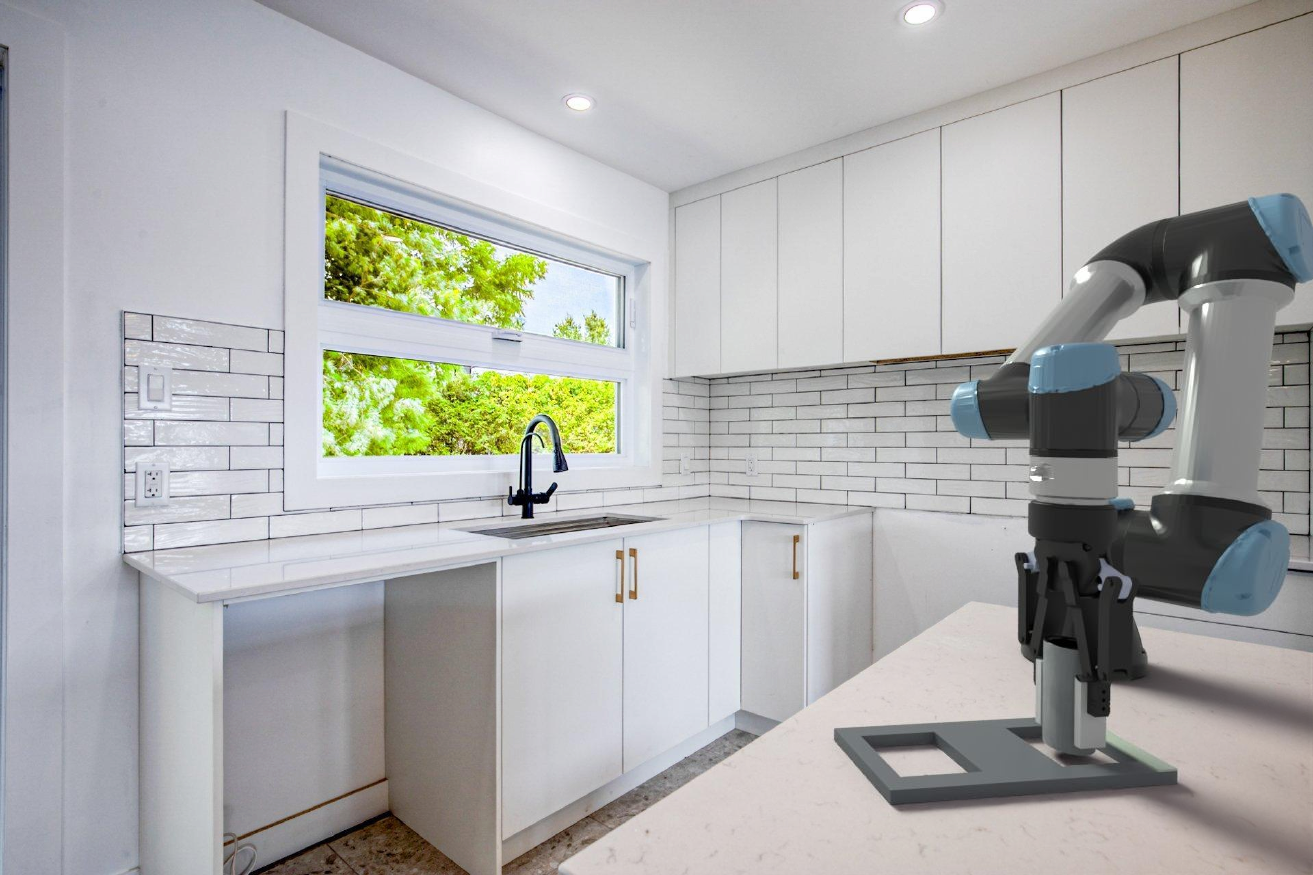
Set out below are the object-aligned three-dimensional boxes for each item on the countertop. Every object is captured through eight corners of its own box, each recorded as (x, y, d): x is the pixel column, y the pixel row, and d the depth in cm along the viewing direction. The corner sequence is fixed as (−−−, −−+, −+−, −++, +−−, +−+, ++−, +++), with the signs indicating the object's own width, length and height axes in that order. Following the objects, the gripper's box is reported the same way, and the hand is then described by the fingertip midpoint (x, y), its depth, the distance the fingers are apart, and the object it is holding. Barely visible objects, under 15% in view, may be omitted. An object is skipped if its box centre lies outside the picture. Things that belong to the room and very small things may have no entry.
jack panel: (1076, 725, 72) (1076, 713, 72) (1177, 783, 60) (1177, 768, 60) (833, 739, 68) (834, 726, 68) (890, 804, 56) (890, 787, 56)
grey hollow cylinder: (1088, 738, 66) (1089, 638, 66) (1102, 759, 62) (1103, 651, 62) (1037, 731, 68) (1038, 633, 68) (1048, 751, 64) (1049, 646, 64)
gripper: (981, 492, 73) (979, 699, 73) (1110, 510, 56) (1107, 782, 56) (1042, 492, 74) (1040, 696, 74) (1187, 509, 57) (1184, 777, 57)
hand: (1069, 733), depth 65 cm, fingers closed on grey hollow cylinder, 4 cm apart
